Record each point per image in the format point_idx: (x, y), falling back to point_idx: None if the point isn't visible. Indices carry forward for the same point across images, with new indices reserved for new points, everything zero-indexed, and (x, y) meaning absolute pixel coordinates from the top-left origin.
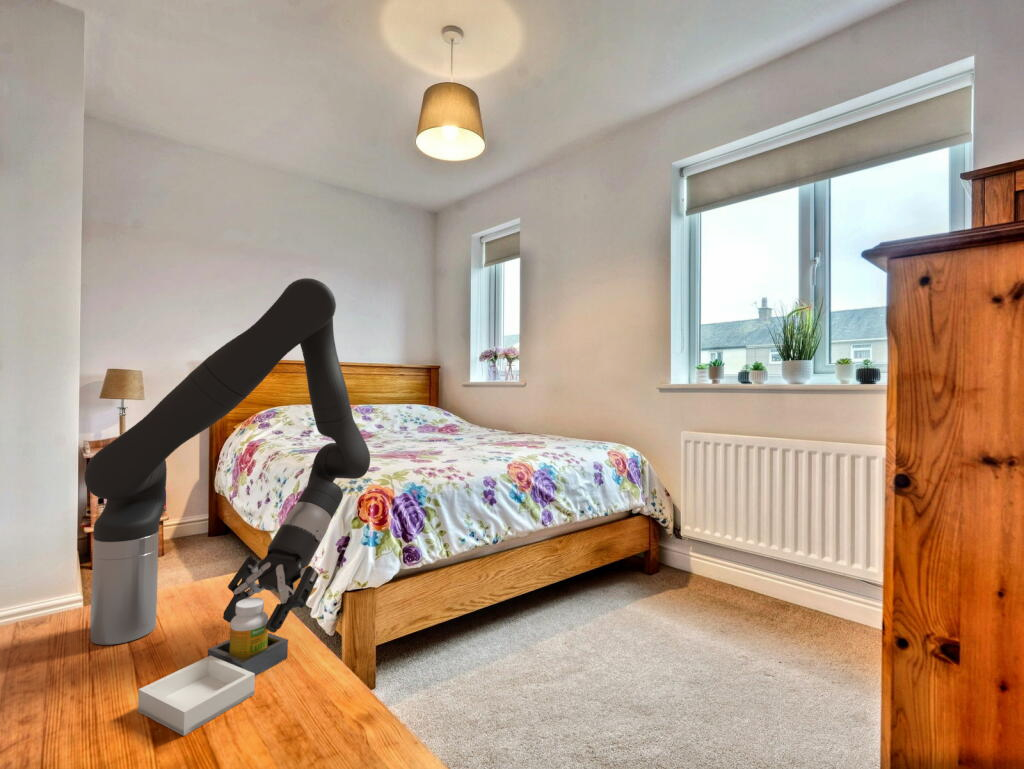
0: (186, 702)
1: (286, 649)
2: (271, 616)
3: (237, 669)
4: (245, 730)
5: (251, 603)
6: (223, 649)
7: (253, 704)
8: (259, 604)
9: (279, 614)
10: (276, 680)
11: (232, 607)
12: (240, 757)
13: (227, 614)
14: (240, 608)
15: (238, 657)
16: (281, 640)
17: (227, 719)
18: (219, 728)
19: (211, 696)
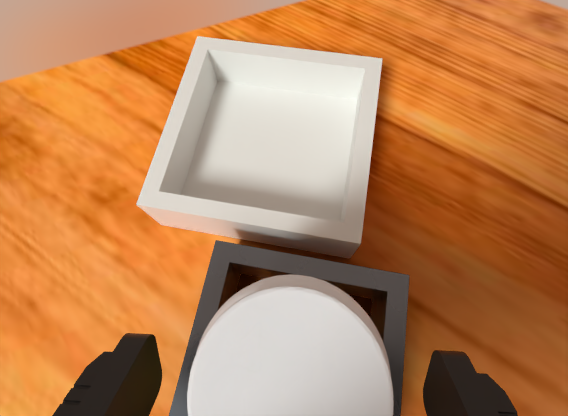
0: (284, 131)
1: None
2: (118, 380)
3: (206, 206)
4: (101, 122)
5: (262, 376)
6: (379, 324)
7: (138, 193)
8: (192, 385)
9: (70, 413)
10: (142, 302)
11: (461, 406)
12: (67, 69)
13: (445, 361)
14: (289, 287)
15: (257, 266)
16: None
17: None
18: (158, 111)
19: (182, 91)
